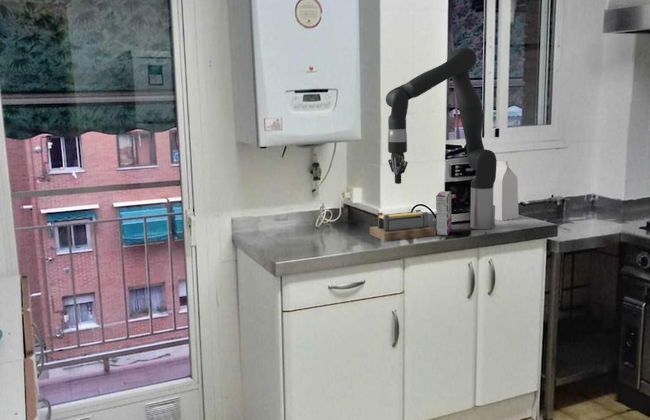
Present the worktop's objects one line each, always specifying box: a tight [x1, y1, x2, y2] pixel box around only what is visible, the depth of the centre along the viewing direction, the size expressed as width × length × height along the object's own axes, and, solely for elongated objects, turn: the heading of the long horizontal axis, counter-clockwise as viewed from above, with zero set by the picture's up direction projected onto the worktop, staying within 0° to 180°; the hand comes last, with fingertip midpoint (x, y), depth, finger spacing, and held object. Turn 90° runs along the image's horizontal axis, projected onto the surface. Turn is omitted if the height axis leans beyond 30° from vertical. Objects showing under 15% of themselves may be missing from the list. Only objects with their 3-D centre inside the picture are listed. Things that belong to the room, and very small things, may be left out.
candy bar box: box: [435, 191, 452, 236], centre depth 249 cm, size 11×5×16 cm, turn 161°
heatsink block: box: [377, 209, 429, 231], centre depth 248 cm, size 19×8×6 cm, turn 110°
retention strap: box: [379, 210, 424, 219], centre depth 247 cm, size 19×4×2 cm, turn 110°
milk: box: [493, 160, 520, 221], centre depth 276 cm, size 12×12×26 cm
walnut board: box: [369, 224, 437, 242], centre depth 248 cm, size 23×14×3 cm, turn 110°
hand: (398, 183), depth 245 cm, fingers closed
